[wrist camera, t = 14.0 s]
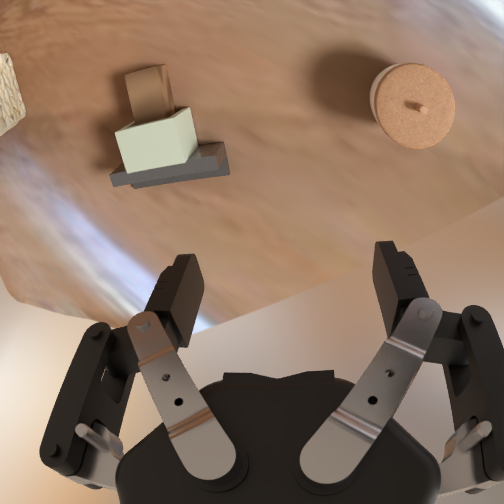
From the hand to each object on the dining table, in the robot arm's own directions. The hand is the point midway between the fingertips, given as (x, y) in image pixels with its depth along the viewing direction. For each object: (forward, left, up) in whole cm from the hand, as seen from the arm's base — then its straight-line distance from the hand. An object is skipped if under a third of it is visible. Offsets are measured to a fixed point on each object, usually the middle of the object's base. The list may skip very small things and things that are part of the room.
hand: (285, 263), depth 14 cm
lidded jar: (-2, +16, -32) cm, 36 cm away
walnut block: (-4, -17, -32) cm, 37 cm away
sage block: (0, -17, -32) cm, 36 cm away
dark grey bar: (+6, -17, -32) cm, 37 cm away
